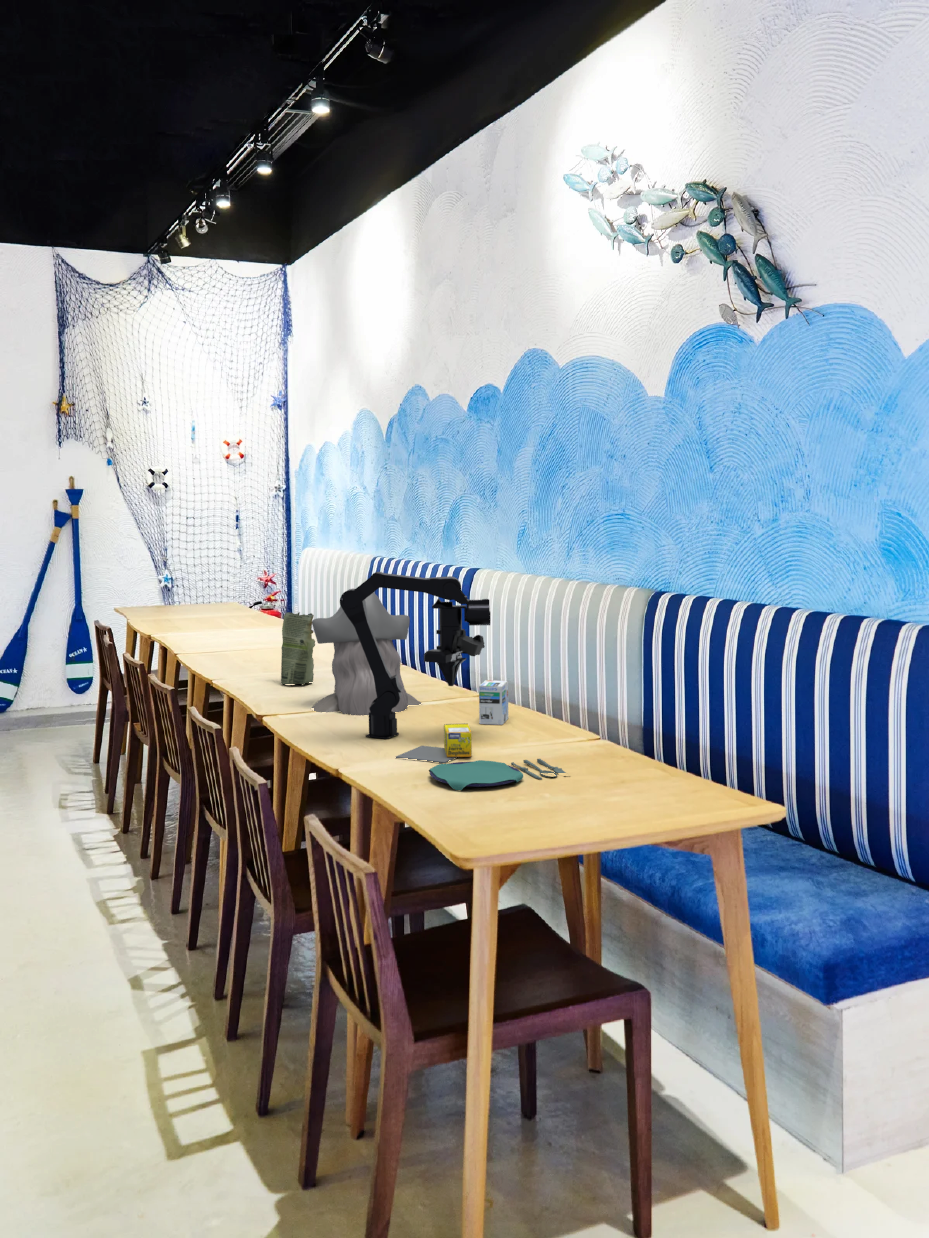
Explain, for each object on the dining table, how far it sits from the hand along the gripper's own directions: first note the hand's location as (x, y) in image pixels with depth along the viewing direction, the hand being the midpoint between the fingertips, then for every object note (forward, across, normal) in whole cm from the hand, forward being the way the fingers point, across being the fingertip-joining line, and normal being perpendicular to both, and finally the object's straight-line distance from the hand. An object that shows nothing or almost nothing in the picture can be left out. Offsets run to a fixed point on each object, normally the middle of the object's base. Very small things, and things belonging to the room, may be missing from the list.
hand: (451, 685), depth 265 cm
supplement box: (+10, -13, -8) cm, 18 cm away
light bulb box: (+13, +22, -2) cm, 26 cm away
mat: (+13, -22, -6) cm, 26 cm away
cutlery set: (+14, -34, -28) cm, 46 cm away
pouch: (+13, +52, +85) cm, 101 cm away
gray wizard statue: (+13, +28, +43) cm, 53 cm away
